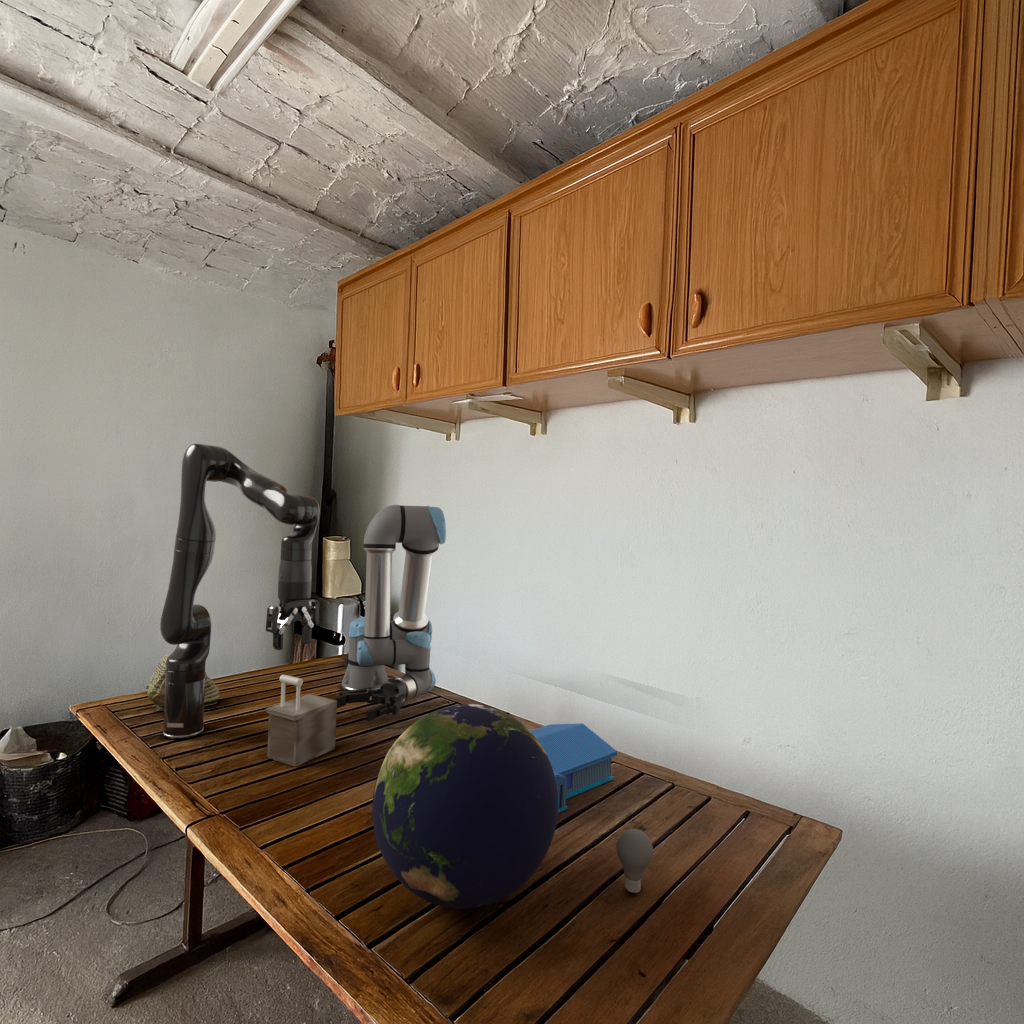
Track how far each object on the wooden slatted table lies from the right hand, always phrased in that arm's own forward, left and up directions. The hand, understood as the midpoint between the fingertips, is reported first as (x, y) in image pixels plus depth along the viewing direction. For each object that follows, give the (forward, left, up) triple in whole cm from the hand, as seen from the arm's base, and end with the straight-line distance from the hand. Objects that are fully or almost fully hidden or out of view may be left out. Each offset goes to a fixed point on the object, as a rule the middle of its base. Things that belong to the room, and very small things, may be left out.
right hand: (347, 711), depth 168 cm
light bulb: (+59, +68, -6) cm, 90 cm away
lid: (+14, -7, +5) cm, 16 cm away
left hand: (+17, -9, +21) cm, 28 cm away
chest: (+13, -7, -6) cm, 16 cm away
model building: (+24, +49, -6) cm, 55 cm away
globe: (+63, +39, -6) cm, 75 cm away
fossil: (-14, -53, -6) cm, 55 cm away
